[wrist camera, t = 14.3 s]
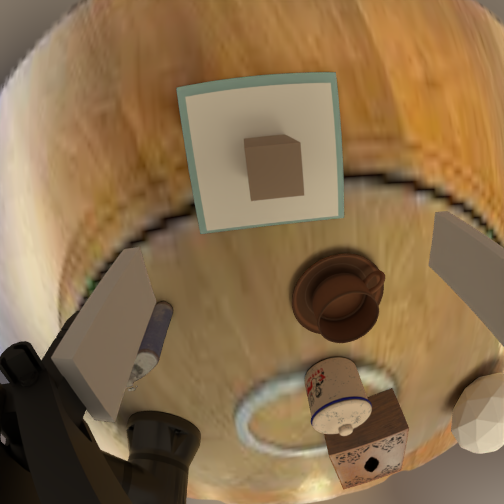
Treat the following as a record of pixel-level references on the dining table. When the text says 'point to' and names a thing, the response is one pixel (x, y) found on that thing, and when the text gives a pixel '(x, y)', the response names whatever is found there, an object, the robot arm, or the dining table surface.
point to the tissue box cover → (371, 444)
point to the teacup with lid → (336, 396)
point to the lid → (265, 154)
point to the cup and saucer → (339, 297)
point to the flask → (151, 342)
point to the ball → (480, 415)
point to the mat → (255, 82)
